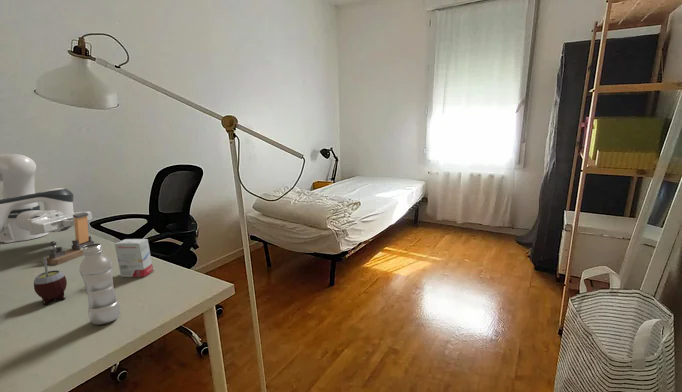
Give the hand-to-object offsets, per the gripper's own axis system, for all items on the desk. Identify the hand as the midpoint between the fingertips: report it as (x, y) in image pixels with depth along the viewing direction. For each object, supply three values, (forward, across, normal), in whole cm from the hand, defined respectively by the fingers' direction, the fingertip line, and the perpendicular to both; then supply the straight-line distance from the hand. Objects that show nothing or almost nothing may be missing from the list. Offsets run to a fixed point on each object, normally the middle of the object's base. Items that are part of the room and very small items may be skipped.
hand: (78, 221), depth 132 cm
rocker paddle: (-1, 0, -9) cm, 9 cm away
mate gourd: (+30, +33, -14) cm, 47 cm away
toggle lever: (-1, +10, -9) cm, 13 cm away
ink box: (+40, +14, -14) cm, 44 cm away
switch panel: (-1, +4, -12) cm, 13 cm away
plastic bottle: (+55, +39, -14) cm, 69 cm away
